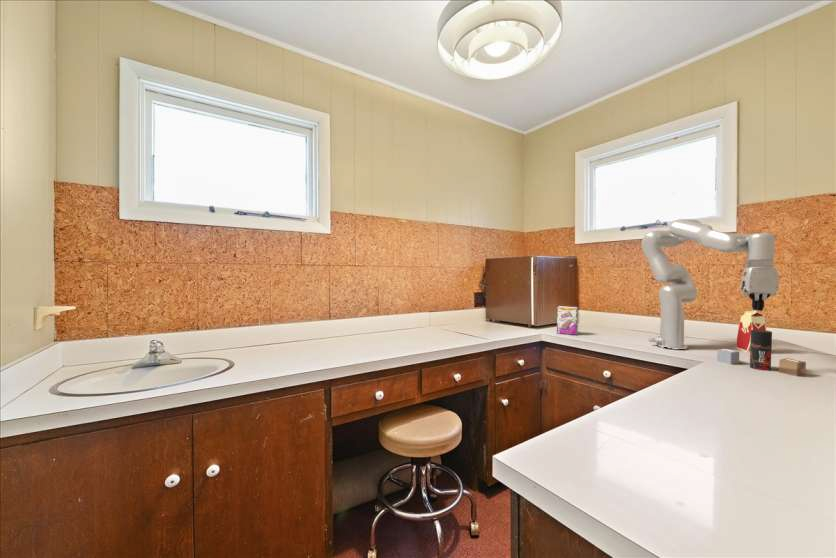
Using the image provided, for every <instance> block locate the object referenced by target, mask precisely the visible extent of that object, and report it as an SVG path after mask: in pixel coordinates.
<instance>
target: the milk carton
mask: <svg viewBox="0 0 836 558" xmlns="http://www.w3.org/2000/svg"><path fill="white" fill-rule="evenodd" d="M743 311H744V314H743V315H741V316H740V321H739V324H738V329H737V335H736V342H735V349H736V348H738V349H737V350H739V349H741V350H740V351H742V350H743V351H742V352H744V351H746V352H745V353H747V352H750V343H751V330H766V331H768V329H767V325H766V318H765V315H763V314H761V313H759V311H757V310H749V311H748V310H747V311H746V310H743Z"/></svg>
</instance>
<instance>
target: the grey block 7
mask: <svg viewBox="0 0 836 558" xmlns="http://www.w3.org/2000/svg"><path fill="white" fill-rule="evenodd" d="M716 361H717V362H719V363H724V364H728V365H736V364H739V363H740V351H737V350H732V349H730V348H729V349H727V348H721V349H717V353H716Z"/></svg>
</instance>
